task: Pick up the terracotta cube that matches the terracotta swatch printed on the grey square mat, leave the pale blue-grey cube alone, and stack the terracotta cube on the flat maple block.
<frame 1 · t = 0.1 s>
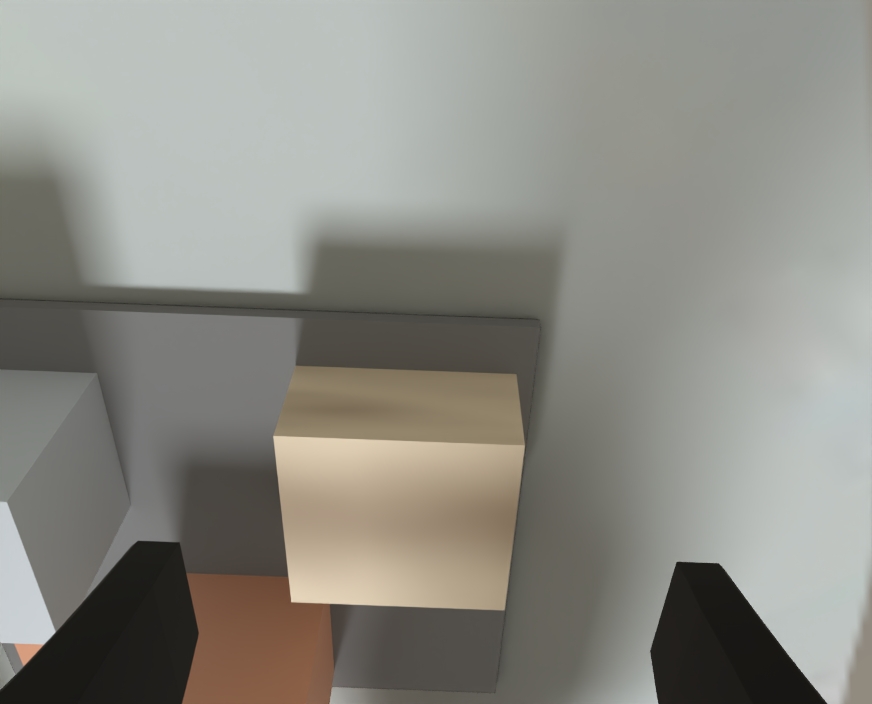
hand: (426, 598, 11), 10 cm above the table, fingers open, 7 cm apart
terracotta cube: (259, 624, 27), resting on grey square mat
blue-grey cube: (29, 440, 22), resting on grey square mat
grey square mat: (233, 523, 24), on the table
maple block: (404, 454, 22), resting on grey square mat
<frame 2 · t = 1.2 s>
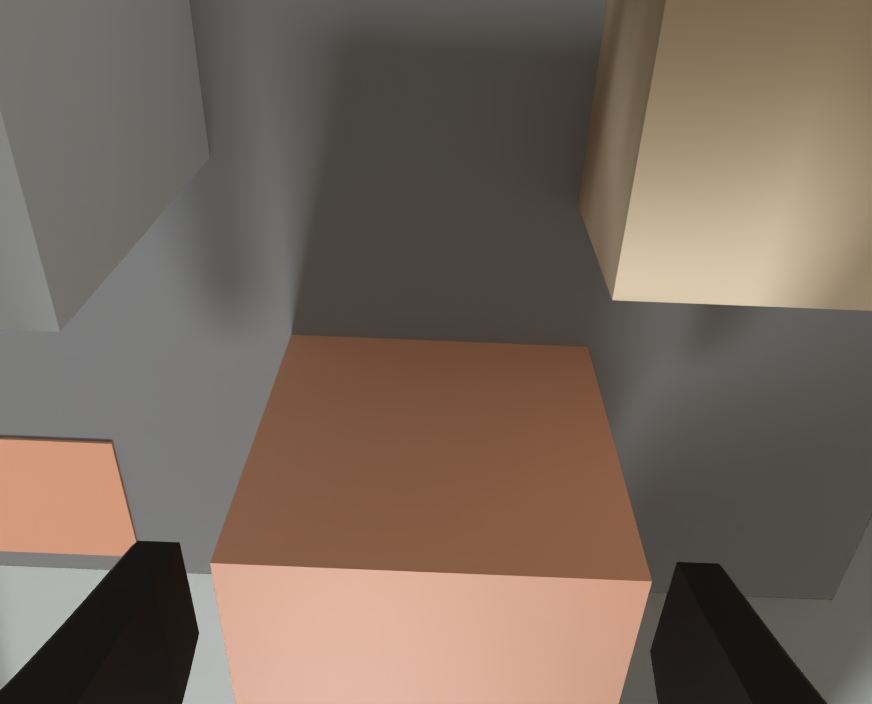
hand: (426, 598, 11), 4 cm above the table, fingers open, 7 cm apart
terracotta cube: (434, 455, 14), resting on grey square mat
grey square mat: (413, 219, 12), on the table
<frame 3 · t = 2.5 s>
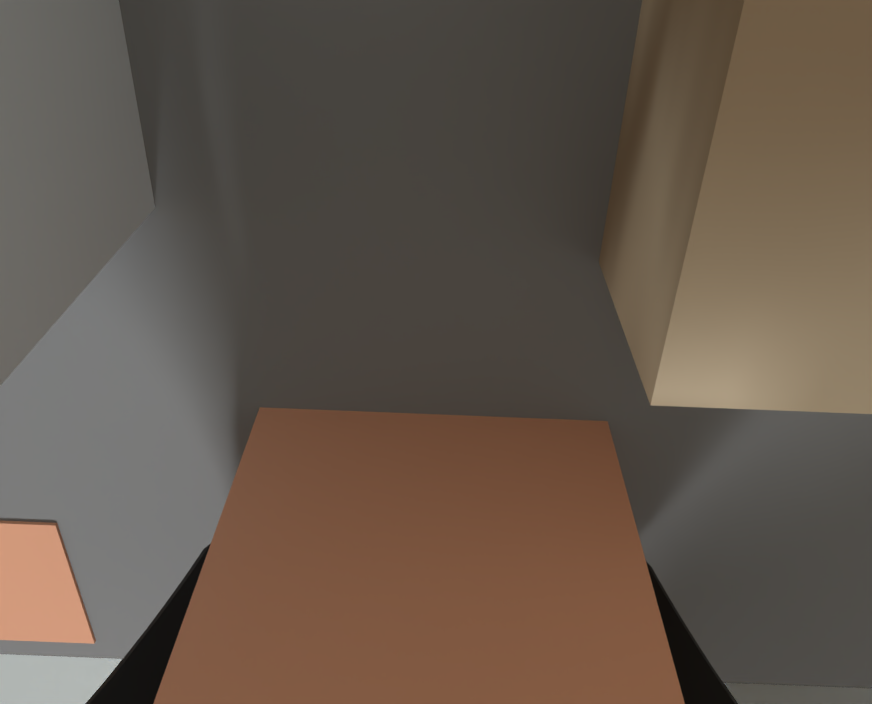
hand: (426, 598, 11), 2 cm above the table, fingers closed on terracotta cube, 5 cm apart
terracotta cube: (428, 537, 12), resting on grey square mat, touching gripper
grey square mat: (401, 275, 10), on the table
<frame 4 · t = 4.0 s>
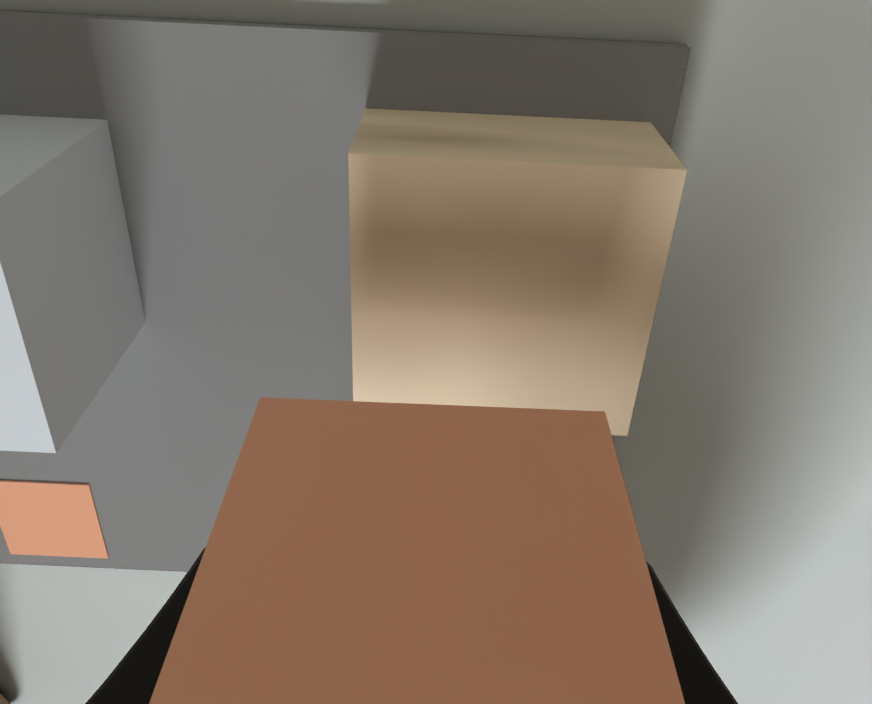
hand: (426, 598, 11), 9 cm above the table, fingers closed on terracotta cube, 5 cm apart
terracotta cube: (427, 527, 12), point 8 cm above the table, touching gripper
blue-grey cube: (19, 223, 18), resting on grey square mat
grey square mat: (272, 353, 20), on the table
maple block: (495, 246, 18), resting on grey square mat
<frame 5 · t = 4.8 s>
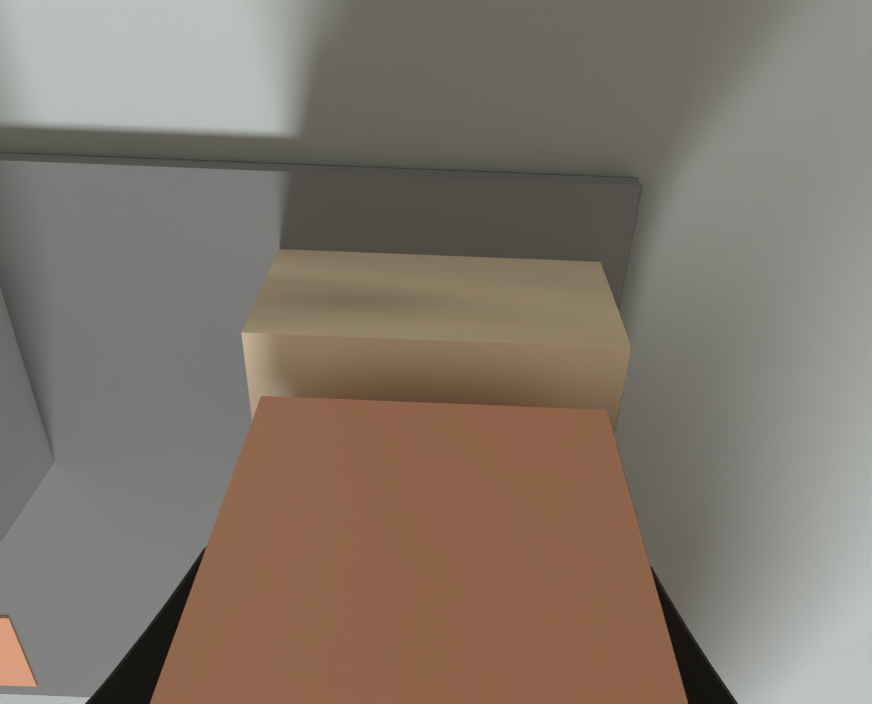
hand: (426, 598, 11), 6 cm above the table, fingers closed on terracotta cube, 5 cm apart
terracotta cube: (428, 526, 12), point 4 cm above the table, touching gripper
grey square mat: (198, 487, 18), on the table
maple block: (434, 386, 16), resting on grey square mat
when the fingers open (6 cm above the table, at t = 5.7 s): terracotta cube stays where it is, resting on maple block.
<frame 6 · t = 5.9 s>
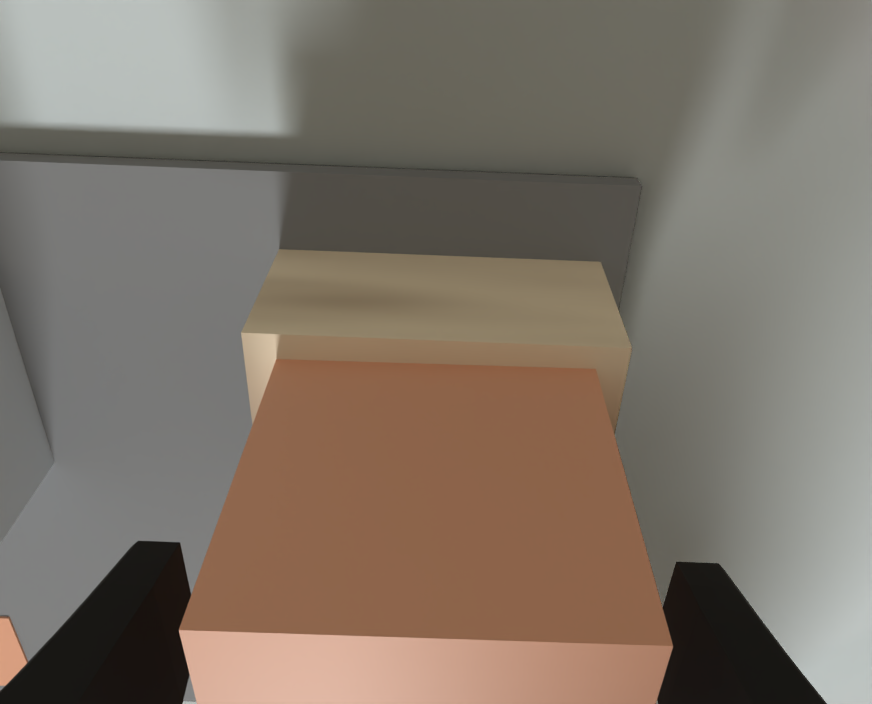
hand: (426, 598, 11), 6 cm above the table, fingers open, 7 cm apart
terracotta cube: (432, 483, 13), point 3 cm above the table, touching maple block
grey square mat: (198, 488, 18), on the table
maple block: (434, 386, 16), resting on grey square mat, touching terracotta cube
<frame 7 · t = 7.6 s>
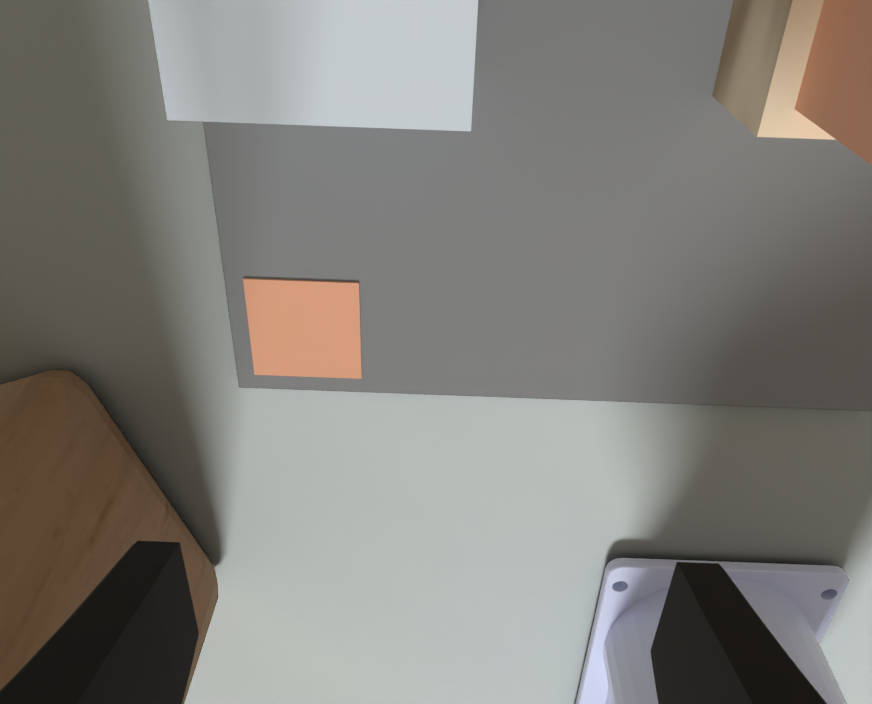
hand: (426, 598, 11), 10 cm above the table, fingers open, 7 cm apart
grey square mat: (594, 109, 18), on the table
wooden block: (34, 503, 25), on the table
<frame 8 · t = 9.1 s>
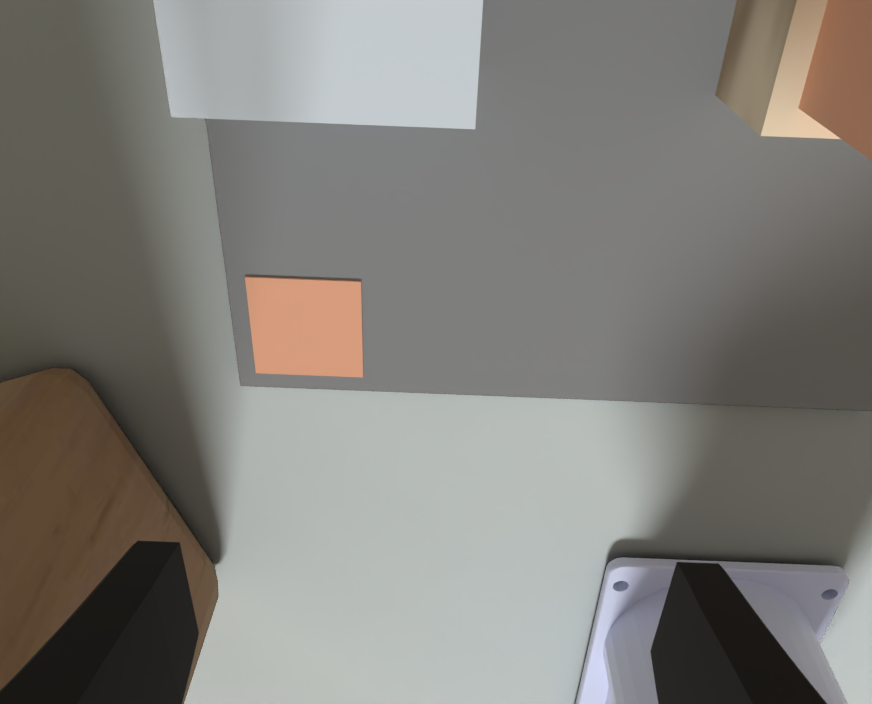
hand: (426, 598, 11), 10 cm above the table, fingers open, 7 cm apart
grey square mat: (597, 108, 18), on the table
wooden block: (35, 501, 25), on the table
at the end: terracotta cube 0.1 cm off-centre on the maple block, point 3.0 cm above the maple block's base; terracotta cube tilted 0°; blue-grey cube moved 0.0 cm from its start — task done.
